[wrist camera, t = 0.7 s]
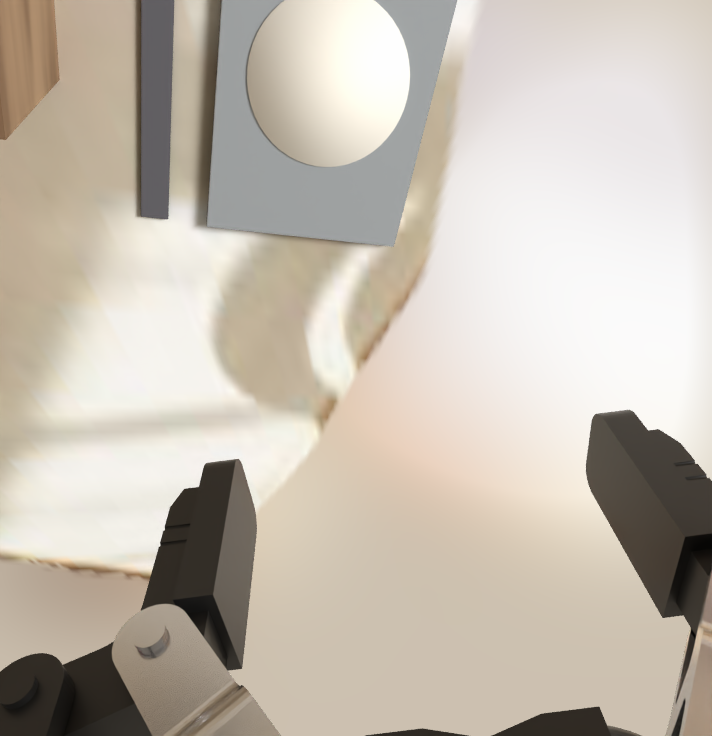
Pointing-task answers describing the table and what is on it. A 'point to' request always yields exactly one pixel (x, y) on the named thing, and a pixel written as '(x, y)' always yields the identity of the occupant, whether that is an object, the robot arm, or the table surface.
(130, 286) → the table surface
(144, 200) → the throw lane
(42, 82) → the square wooden post
